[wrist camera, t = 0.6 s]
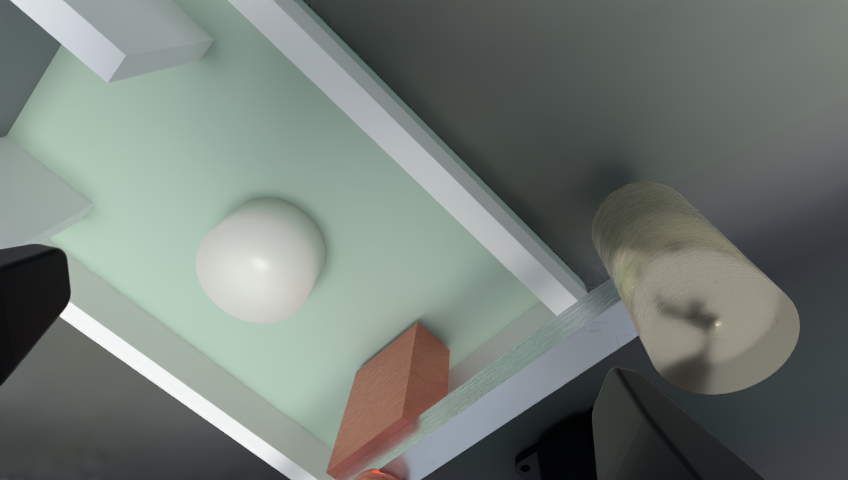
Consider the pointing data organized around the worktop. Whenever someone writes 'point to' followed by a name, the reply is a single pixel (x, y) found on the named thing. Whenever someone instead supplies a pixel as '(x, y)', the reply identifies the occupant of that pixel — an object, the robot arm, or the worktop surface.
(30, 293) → the robot arm
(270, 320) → the puck
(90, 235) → the pitch
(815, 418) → the worktop surface
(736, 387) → the cylinder
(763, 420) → the worktop surface
